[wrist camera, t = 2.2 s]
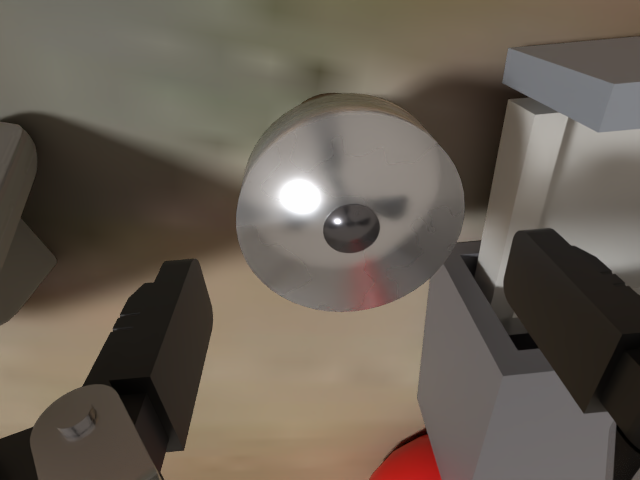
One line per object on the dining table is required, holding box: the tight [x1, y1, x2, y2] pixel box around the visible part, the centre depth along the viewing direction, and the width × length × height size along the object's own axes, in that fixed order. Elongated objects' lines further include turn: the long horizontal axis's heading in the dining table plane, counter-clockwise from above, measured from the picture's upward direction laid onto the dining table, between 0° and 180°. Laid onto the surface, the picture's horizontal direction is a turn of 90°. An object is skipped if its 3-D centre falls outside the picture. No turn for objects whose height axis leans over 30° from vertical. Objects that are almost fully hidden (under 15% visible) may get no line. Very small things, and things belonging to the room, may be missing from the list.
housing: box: [417, 241, 614, 480], centre depth 21 cm, size 13×18×8 cm
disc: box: [236, 93, 465, 312], centre depth 12 cm, size 6×6×2 cm
